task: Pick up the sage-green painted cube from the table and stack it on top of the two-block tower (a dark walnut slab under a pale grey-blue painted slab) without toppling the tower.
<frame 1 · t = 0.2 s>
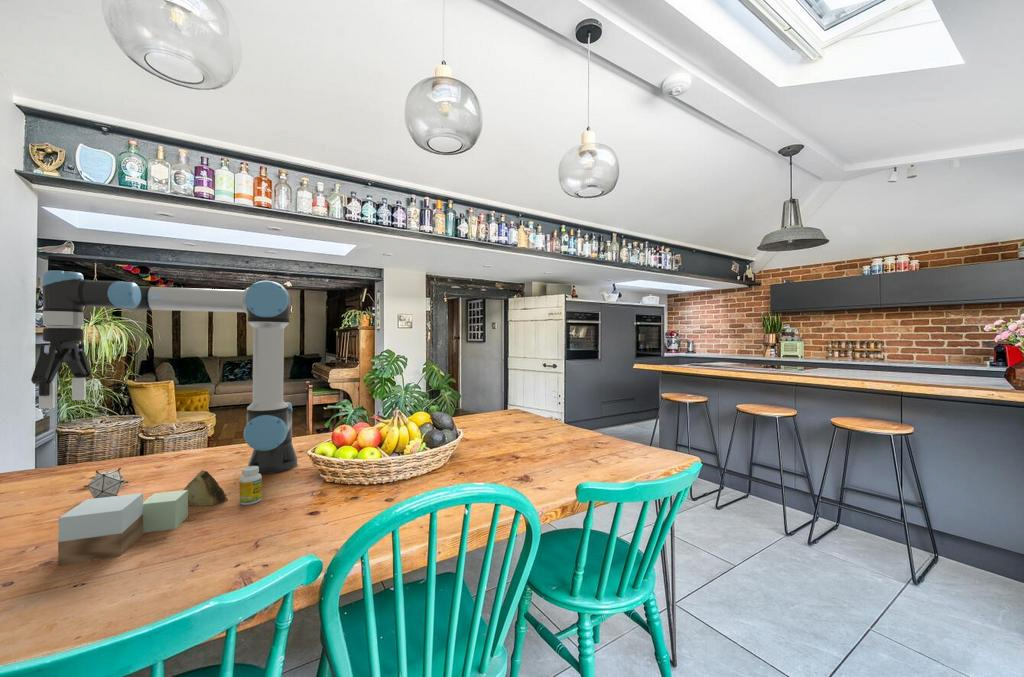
hand: (63, 404, 111), 28 cm above the table, fingers open, 13 cm apart
supplement bottle: (250, 502, 114), on the table
tower top block: (103, 526, 89), point 5 cm above the table, touching tower base block
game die: (106, 498, 116), on the table
tower base block: (103, 549, 89), on the table, touching tower top block
green cube: (164, 524, 100), on the table
rock: (202, 503, 113), on the table
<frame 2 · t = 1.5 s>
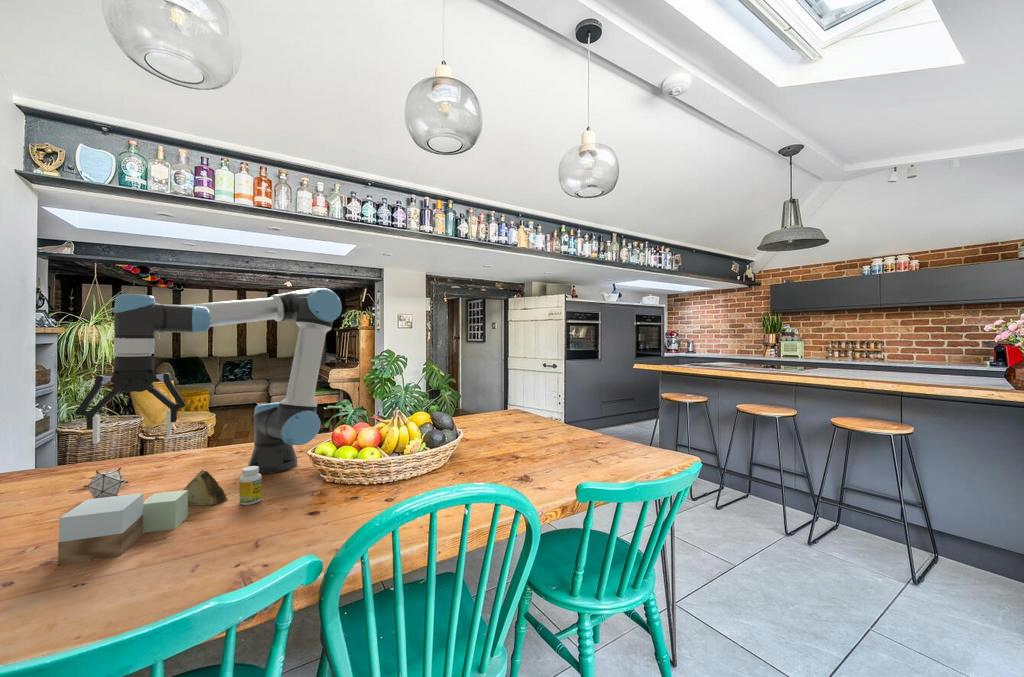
hand: (134, 438, 102), 21 cm above the table, fingers open, 13 cm apart
nothing on the table moved.
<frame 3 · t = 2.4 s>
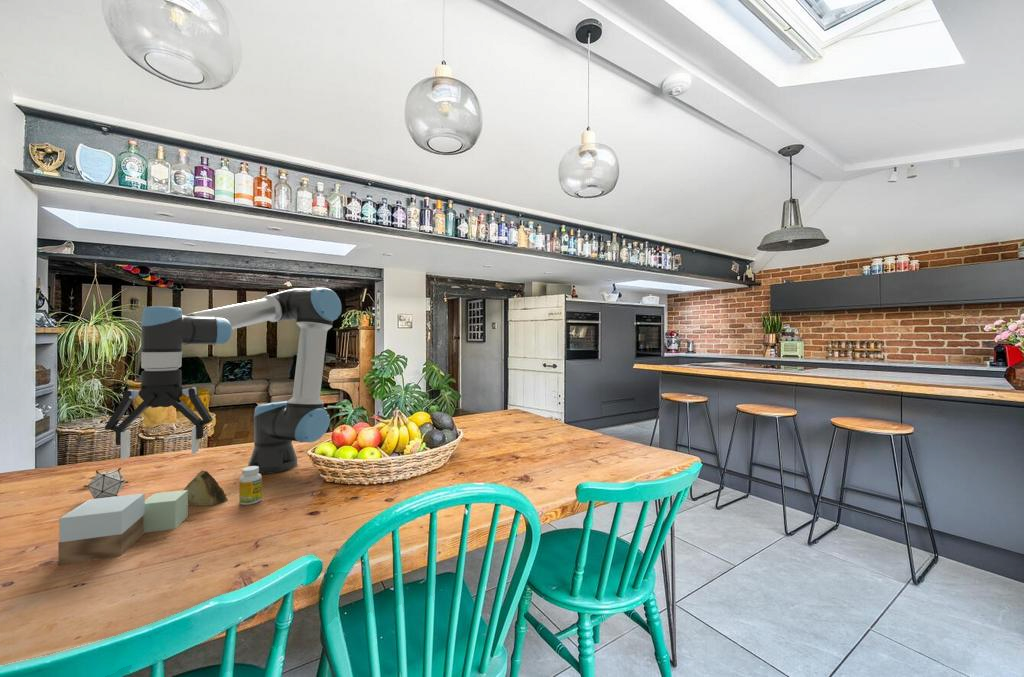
hand: (161, 455, 99), 18 cm above the table, fingers open, 13 cm apart
nothing on the table moved.
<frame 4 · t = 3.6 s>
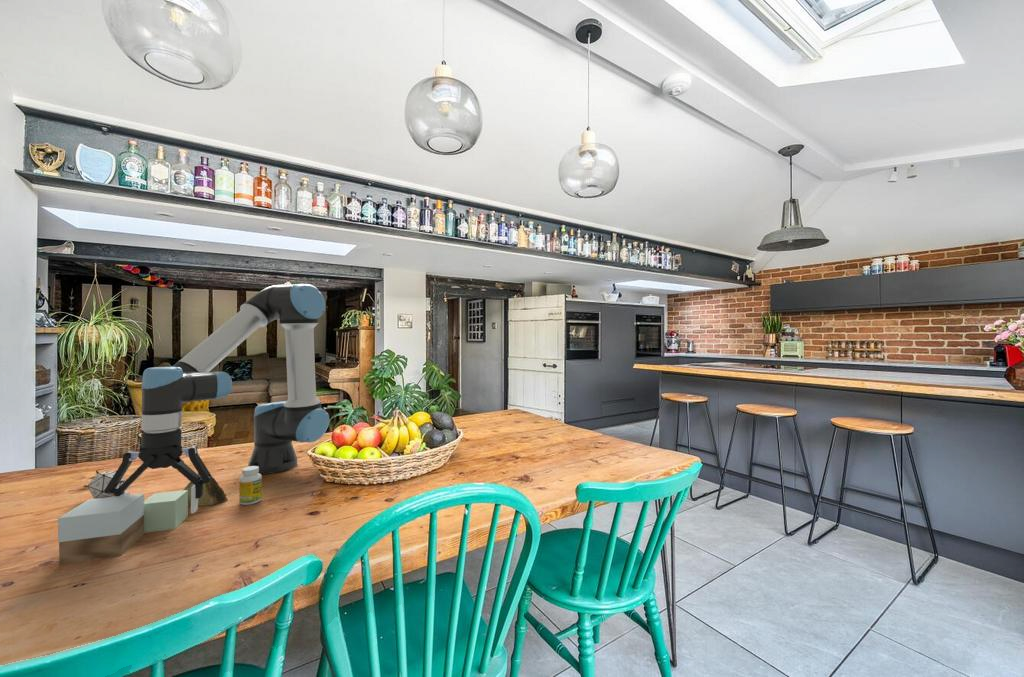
hand: (160, 515, 99), 3 cm above the table, fingers open, 13 cm apart
tower top block: (104, 527, 89), point 5 cm above the table
tower base block: (104, 549, 89), on the table
everything else where it was.
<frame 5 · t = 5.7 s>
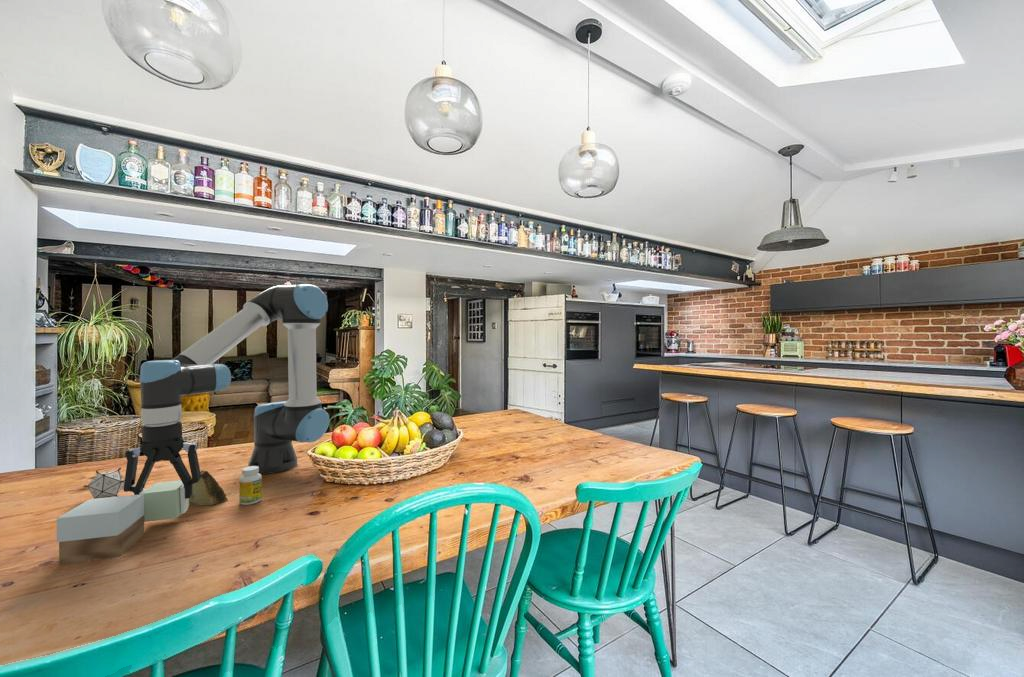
hand: (164, 513, 100), 3 cm above the table, fingers closed on green cube, 7 cm apart
green cube: (166, 513, 101), point 2 cm above the table, touching gripper
everything else where it was.
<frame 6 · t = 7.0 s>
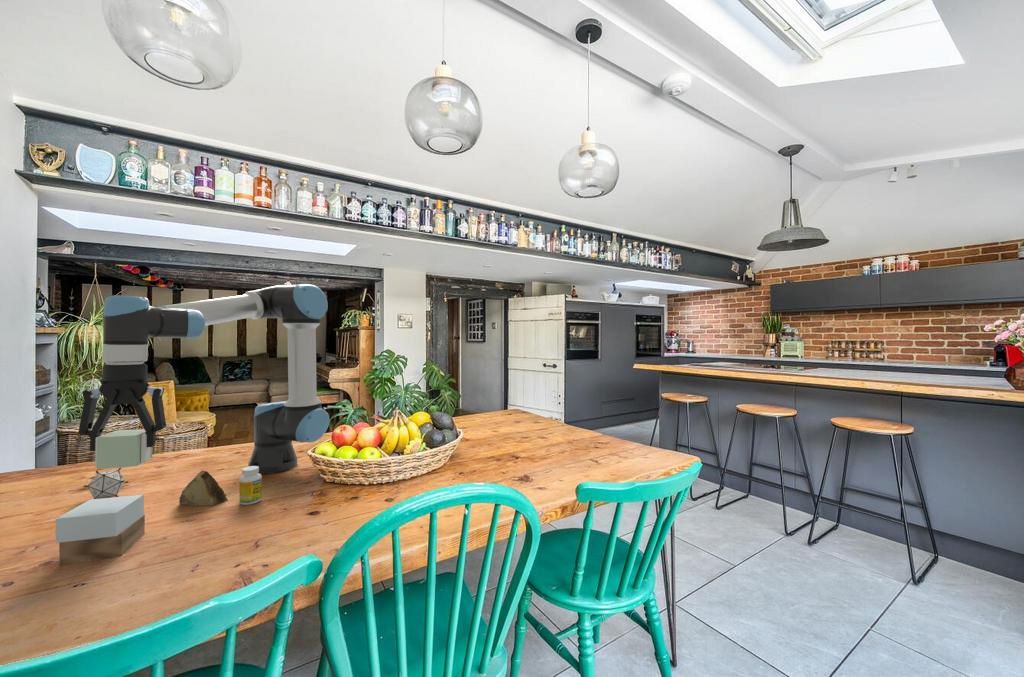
hand: (123, 462, 92), 18 cm above the table, fingers closed on green cube, 7 cm apart
tower top block: (102, 528, 89), point 5 cm above the table, touching tower base block
tower base block: (105, 549, 89), on the table, touching tower top block
green cube: (125, 463, 93), point 18 cm above the table, touching gripper
everything else where it was.
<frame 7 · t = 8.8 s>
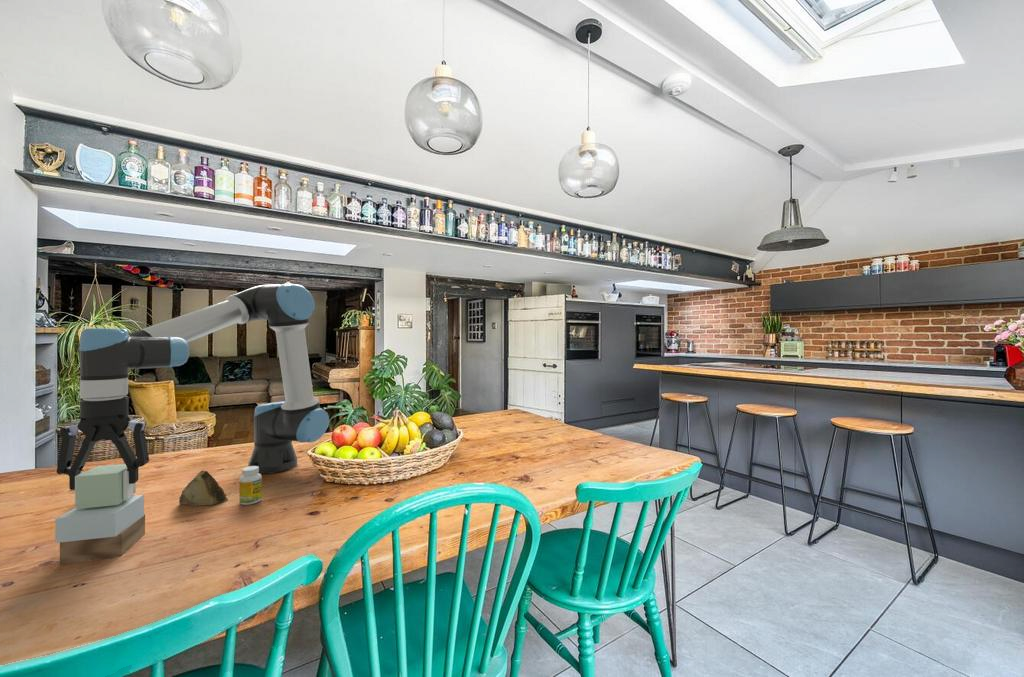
hand: (105, 500, 89), 11 cm above the table, fingers closed on green cube, 7 cm apart
green cube: (107, 500, 90), point 10 cm above the table, touching gripper
everything else where it was.
when the fingers open (11 cm above the table, at t = 9.2 s): green cube moves 1 cm, resting on tower top block.
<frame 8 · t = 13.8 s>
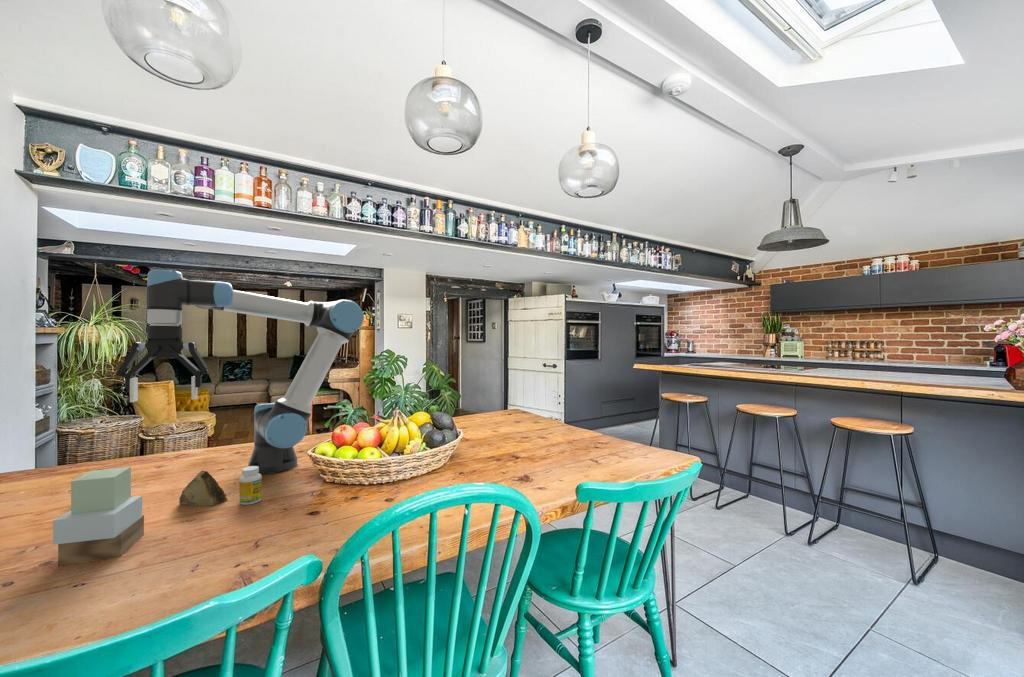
hand: (164, 400, 114), 29 cm above the table, fingers open, 13 cm apart
tower top block: (100, 529, 88), point 5 cm above the table, touching green cube, tower base block
green cube: (102, 505, 89), point 10 cm above the table, touching tower top block
everything else where it was.
at the end: green cube 1.0 cm from the tower top block (horizontally); green cube point 9.7 cm above the table; tower top block tilted 0° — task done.
